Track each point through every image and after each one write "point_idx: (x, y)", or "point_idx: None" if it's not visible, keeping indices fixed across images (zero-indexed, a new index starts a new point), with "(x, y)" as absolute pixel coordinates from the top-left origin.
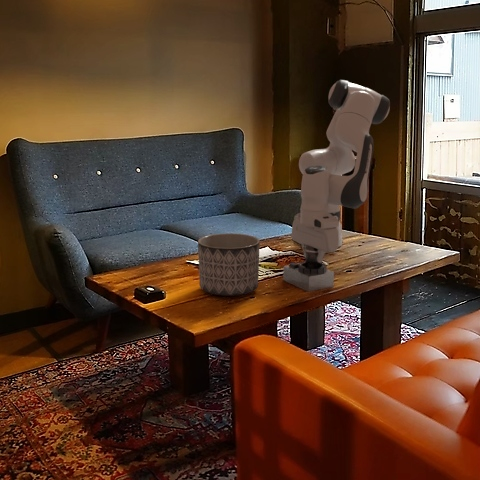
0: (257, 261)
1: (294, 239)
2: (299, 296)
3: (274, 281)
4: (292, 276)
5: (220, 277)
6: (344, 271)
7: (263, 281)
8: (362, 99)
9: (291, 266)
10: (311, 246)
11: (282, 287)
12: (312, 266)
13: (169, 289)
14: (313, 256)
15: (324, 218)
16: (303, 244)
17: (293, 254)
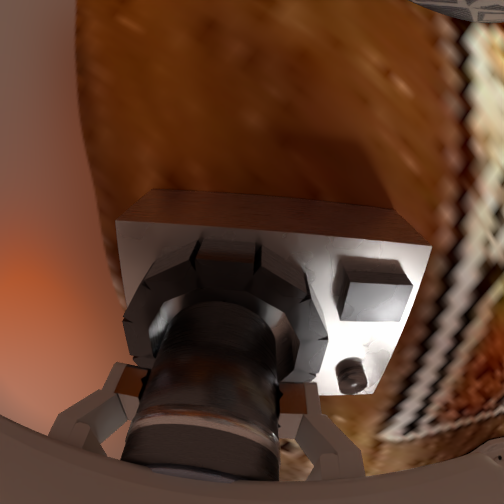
0: None
1: (461, 468)
2: (120, 102)
3: (412, 157)
4: (317, 216)
5: None
6: (292, 439)
7: (445, 112)
8: None
9: (380, 274)
10: (149, 470)
11: (302, 115)
12: (173, 324)
13: None
14: (146, 388)
15: None
16: (332, 474)
17: (501, 403)
